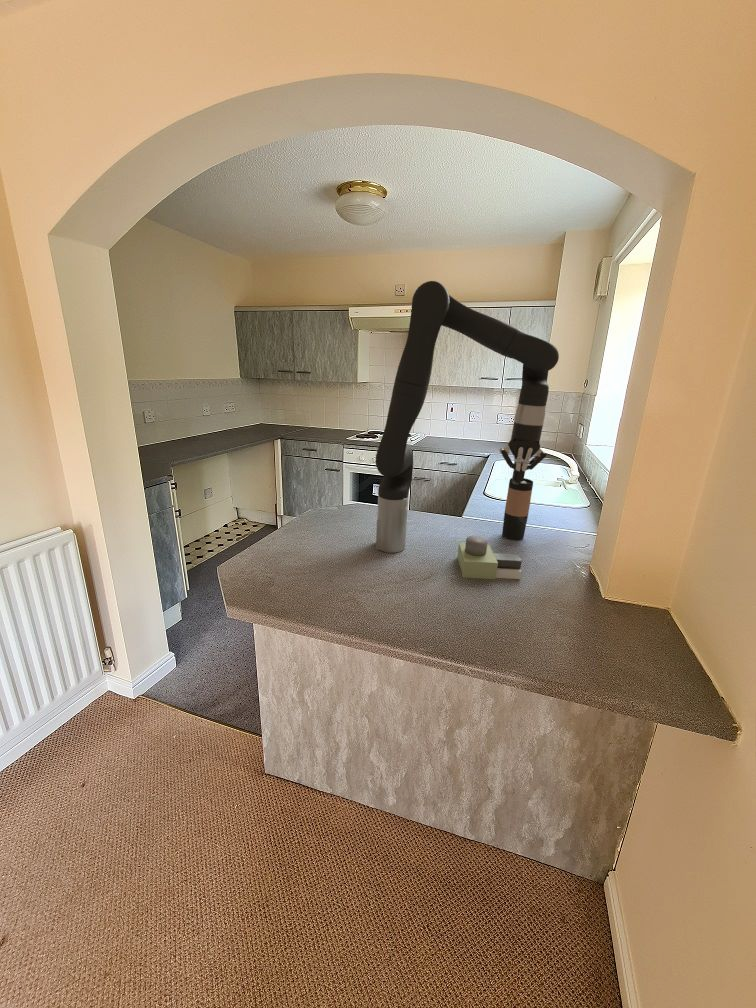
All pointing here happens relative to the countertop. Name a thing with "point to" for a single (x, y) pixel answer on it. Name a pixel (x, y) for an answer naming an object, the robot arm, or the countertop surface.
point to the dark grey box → (508, 561)
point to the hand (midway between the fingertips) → (517, 482)
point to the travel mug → (517, 509)
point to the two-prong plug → (481, 561)
